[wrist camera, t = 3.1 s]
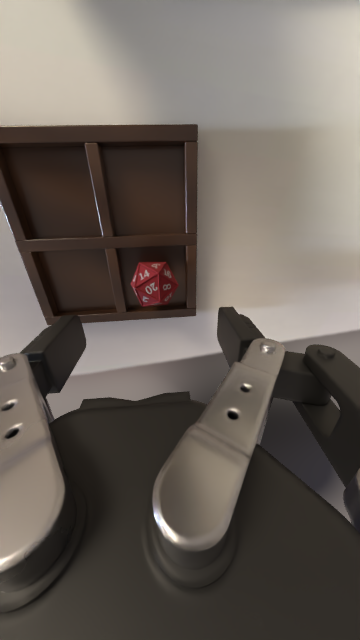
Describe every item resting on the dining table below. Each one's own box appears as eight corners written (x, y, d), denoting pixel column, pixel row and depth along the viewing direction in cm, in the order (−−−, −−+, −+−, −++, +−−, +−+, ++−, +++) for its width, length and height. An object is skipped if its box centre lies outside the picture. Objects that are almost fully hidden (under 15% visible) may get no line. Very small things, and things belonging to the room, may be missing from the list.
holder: (-15, 132, 14) (-31, 125, 13) (195, 130, 15) (197, 123, 14) (53, 319, 21) (47, 325, 20) (194, 310, 22) (196, 316, 21)
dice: (158, 246, 18) (157, 254, 15) (183, 287, 20) (187, 302, 17) (124, 268, 19) (115, 281, 15) (151, 305, 21) (149, 324, 17)
